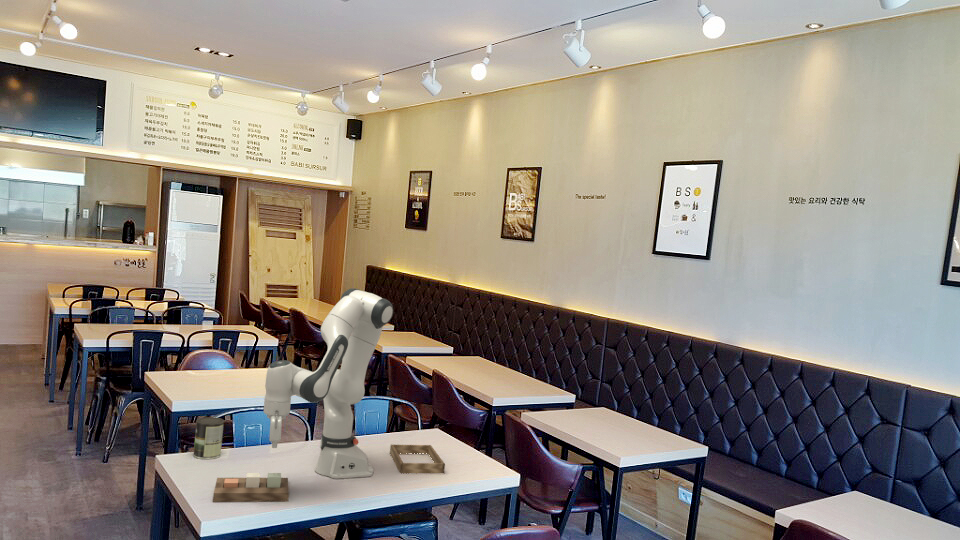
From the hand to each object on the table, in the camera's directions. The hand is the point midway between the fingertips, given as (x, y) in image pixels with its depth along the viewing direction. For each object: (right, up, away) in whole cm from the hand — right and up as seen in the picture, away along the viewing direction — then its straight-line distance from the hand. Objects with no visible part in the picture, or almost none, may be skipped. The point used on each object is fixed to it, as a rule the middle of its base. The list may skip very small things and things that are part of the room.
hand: (274, 446), depth 238 cm
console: (-7, -16, -2) cm, 17 cm away
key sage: (0, -13, 0) cm, 13 cm away
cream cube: (-7, -13, -2) cm, 15 cm away
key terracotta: (-14, -14, -4) cm, 20 cm away
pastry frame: (+45, -20, +50) cm, 70 cm away
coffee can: (-37, -12, +33) cm, 51 cm away
